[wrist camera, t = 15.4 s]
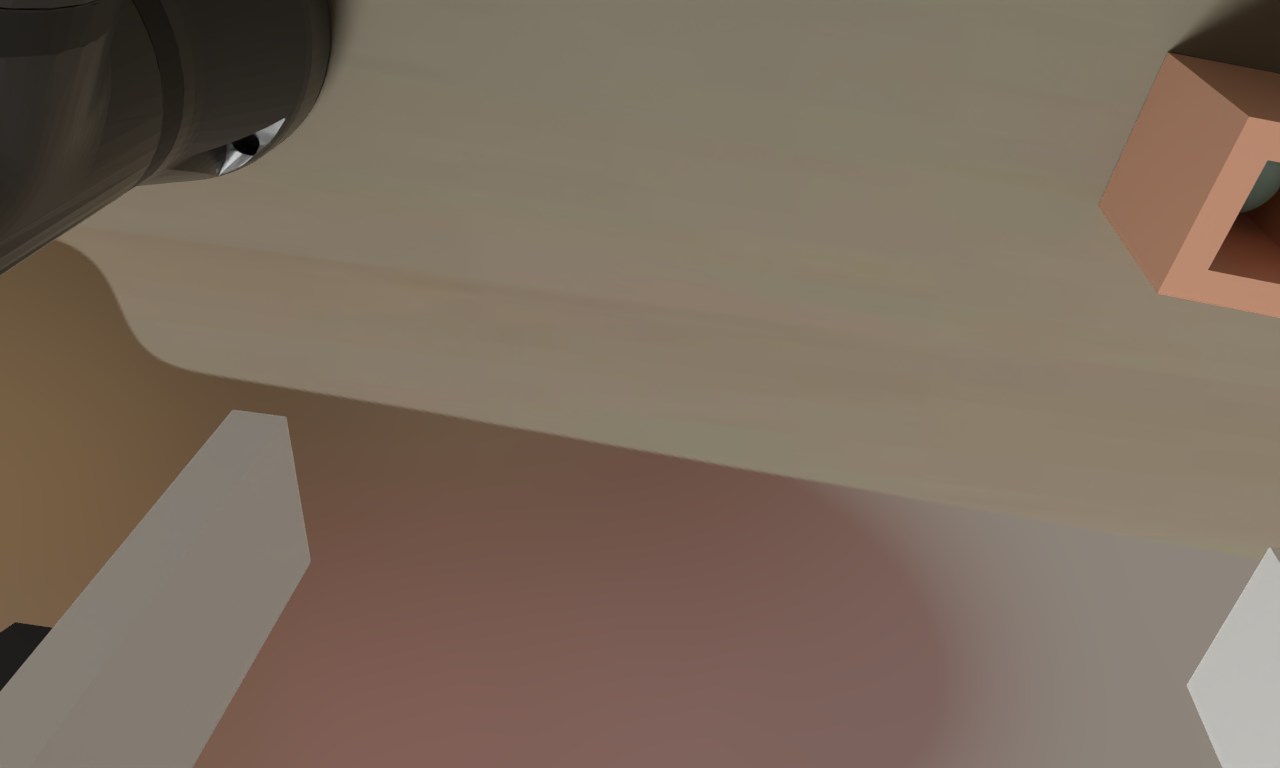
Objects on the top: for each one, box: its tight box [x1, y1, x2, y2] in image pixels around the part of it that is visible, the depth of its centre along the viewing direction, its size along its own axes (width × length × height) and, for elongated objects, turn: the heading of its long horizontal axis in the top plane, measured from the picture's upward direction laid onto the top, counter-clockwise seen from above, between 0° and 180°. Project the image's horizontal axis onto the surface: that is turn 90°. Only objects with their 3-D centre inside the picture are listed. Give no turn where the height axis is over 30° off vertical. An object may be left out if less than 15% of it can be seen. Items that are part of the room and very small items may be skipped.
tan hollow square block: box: [1098, 52, 1280, 318], centre depth 35 cm, size 6×6×8 cm
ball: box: [1239, 160, 1280, 213], centre depth 36 cm, size 3×3×3 cm
